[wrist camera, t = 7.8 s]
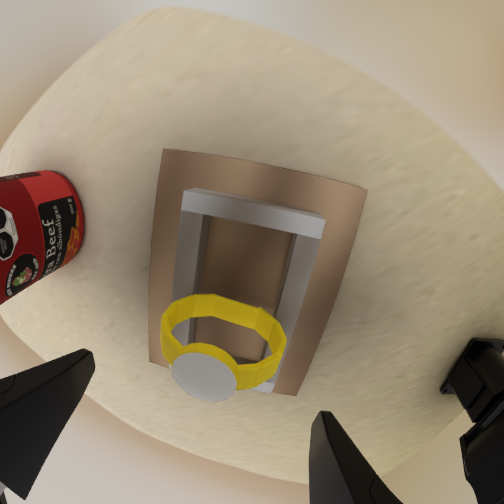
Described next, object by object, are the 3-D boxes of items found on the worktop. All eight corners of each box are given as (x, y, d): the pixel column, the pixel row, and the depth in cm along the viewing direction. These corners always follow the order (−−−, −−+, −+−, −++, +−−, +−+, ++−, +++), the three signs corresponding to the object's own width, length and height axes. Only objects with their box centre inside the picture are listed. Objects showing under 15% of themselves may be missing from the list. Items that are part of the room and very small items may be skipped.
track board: (363, 188, 15) (379, 193, 12) (295, 389, 20) (296, 414, 17) (168, 149, 15) (148, 147, 13) (153, 356, 20) (139, 377, 18)
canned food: (71, 280, 19) (-20, 347, 9) (21, 226, 18) (-68, 265, 8) (101, 204, 17) (-28, 251, 7) (43, 152, 16) (-67, 167, 6)
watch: (291, 301, 15) (291, 375, 9) (277, 340, 16) (271, 417, 10) (187, 273, 15) (137, 331, 9) (181, 314, 16) (138, 378, 10)
